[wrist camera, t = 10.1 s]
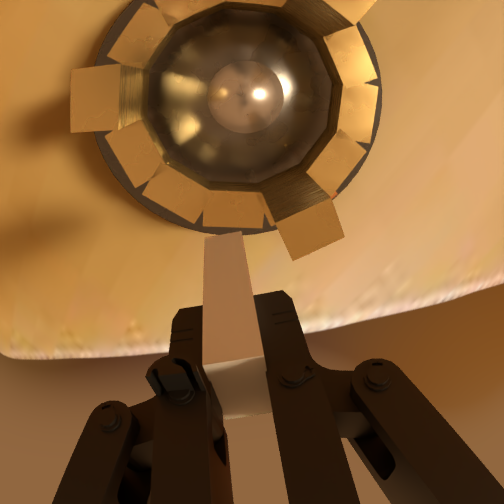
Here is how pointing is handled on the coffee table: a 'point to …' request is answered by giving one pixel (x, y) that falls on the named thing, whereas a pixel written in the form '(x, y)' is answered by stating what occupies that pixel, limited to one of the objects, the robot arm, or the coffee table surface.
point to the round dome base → (236, 193)
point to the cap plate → (199, 122)
